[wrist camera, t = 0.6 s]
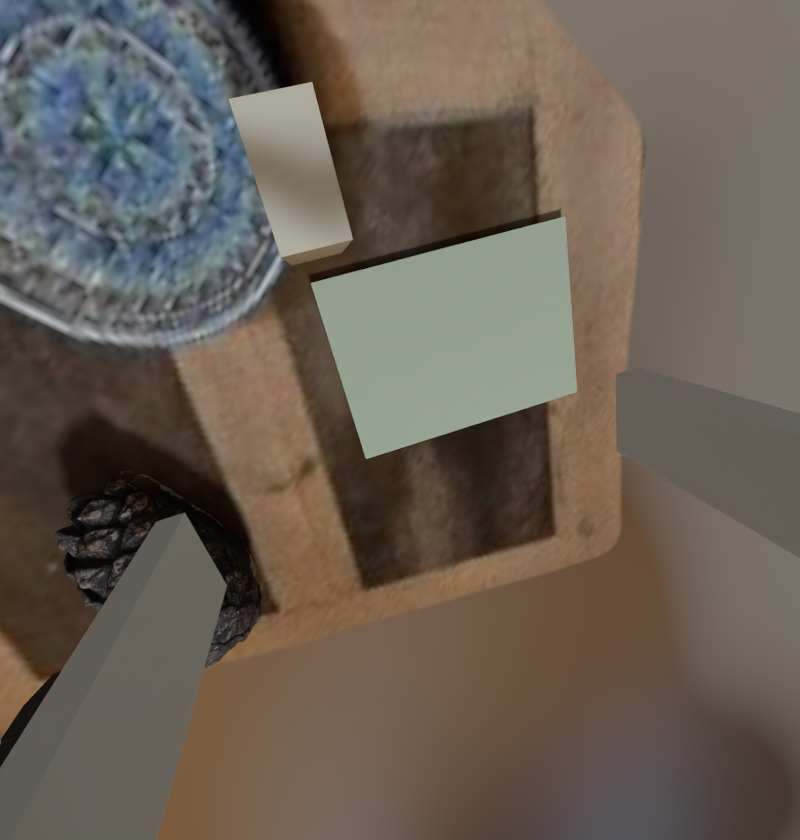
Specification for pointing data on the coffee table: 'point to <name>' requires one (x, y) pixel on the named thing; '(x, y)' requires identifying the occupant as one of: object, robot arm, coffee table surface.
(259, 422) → the coffee table surface
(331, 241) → the beige rectangular block
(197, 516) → the pine cone
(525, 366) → the mat
